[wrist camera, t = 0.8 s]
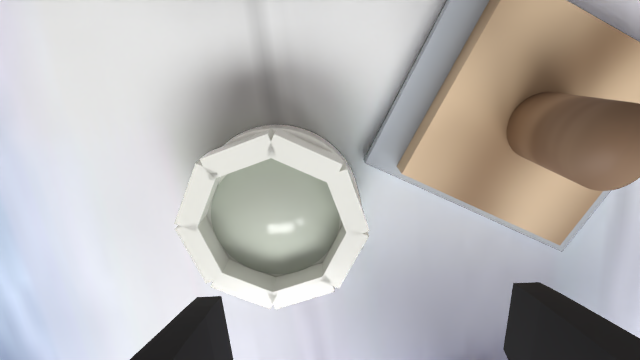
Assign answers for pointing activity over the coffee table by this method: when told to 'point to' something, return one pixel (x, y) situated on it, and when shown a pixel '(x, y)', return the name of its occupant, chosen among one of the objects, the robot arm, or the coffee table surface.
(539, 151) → the lid
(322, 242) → the bowl
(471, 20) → the mat
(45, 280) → the coffee table surface
